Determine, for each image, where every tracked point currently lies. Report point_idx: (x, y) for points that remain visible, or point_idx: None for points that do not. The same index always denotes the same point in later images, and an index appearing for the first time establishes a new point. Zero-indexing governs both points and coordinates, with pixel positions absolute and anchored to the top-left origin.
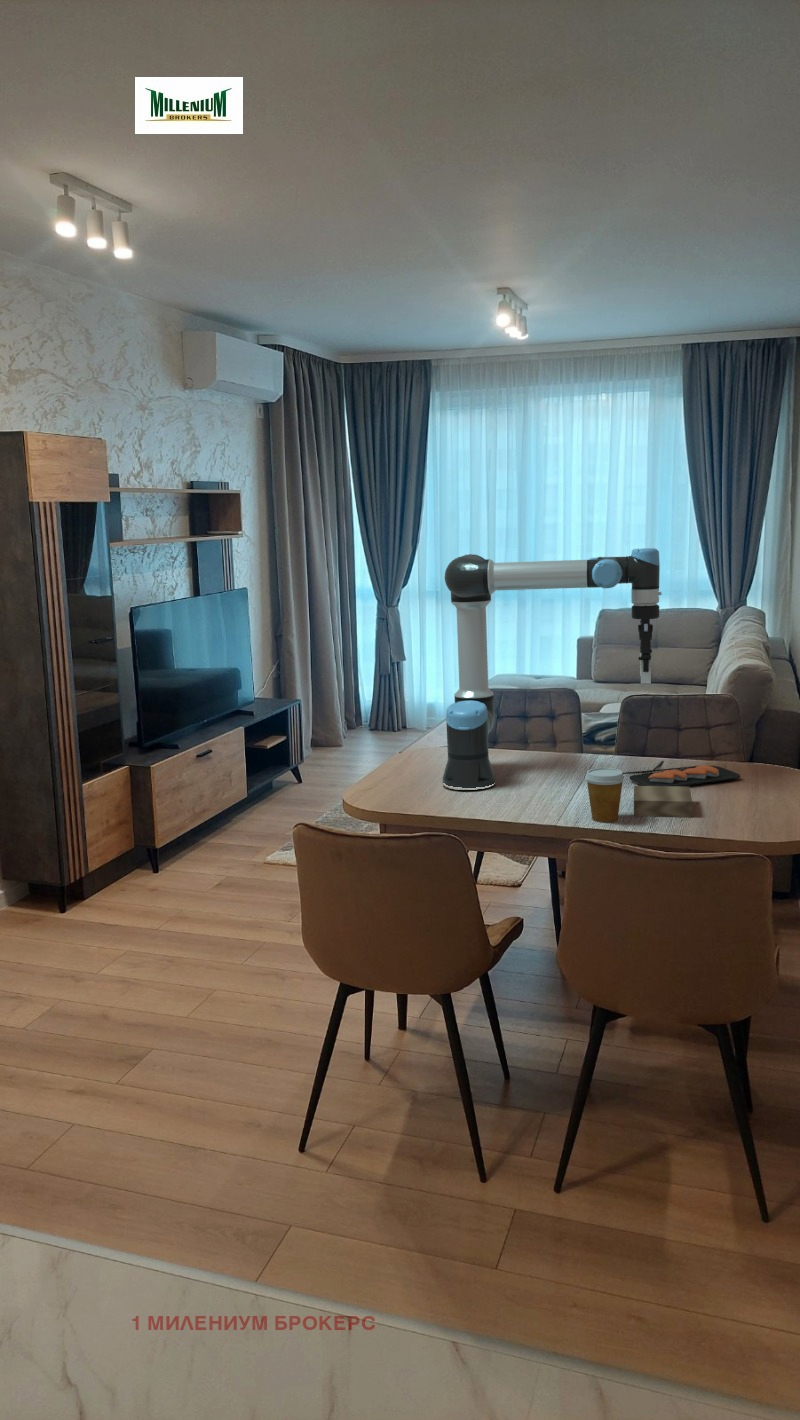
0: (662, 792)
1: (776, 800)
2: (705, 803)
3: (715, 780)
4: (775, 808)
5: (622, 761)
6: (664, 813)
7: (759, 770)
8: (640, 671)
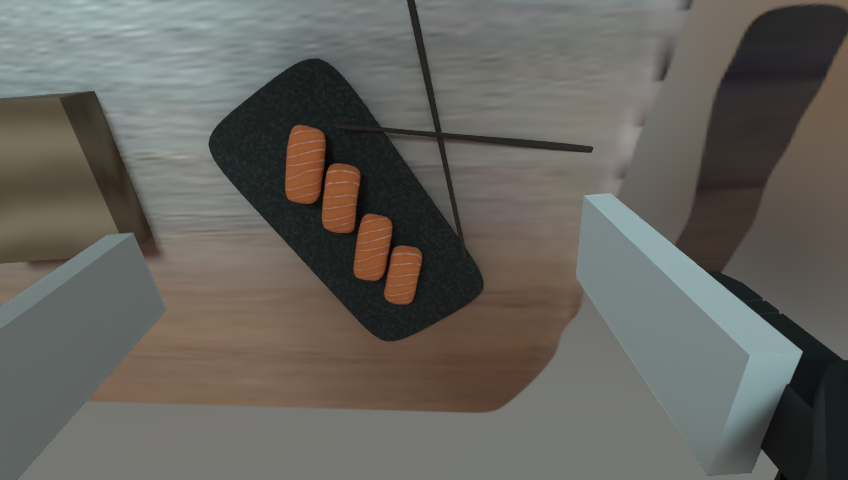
0: (27, 189)
1: (236, 389)
2: (153, 269)
3: (333, 293)
4: (175, 386)
5: (594, 5)
6: None
7: (485, 368)
8: (602, 217)
